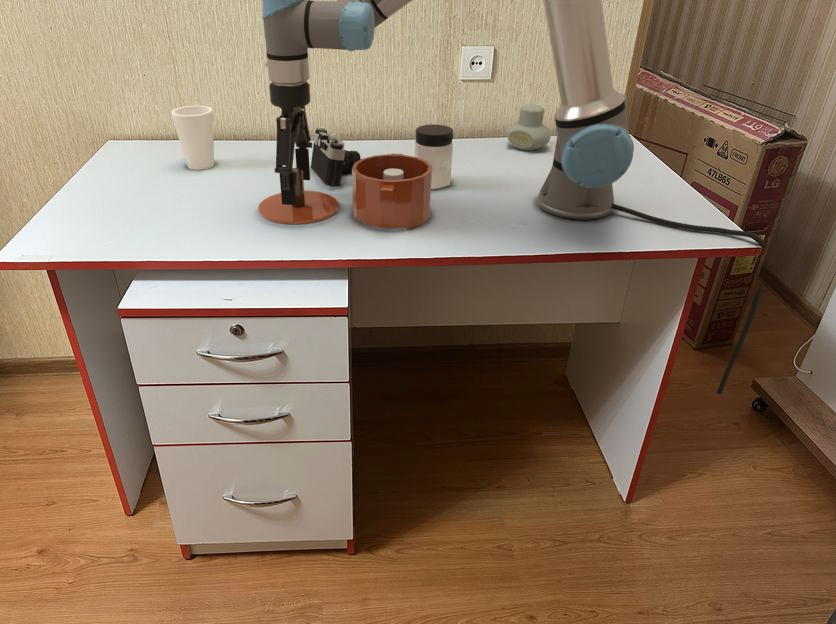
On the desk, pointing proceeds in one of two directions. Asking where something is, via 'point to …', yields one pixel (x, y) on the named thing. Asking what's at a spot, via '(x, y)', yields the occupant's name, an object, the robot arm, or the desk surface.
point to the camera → (331, 158)
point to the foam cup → (195, 135)
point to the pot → (391, 191)
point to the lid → (299, 205)
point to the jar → (436, 152)
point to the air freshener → (529, 129)
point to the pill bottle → (393, 174)
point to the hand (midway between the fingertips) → (296, 191)
